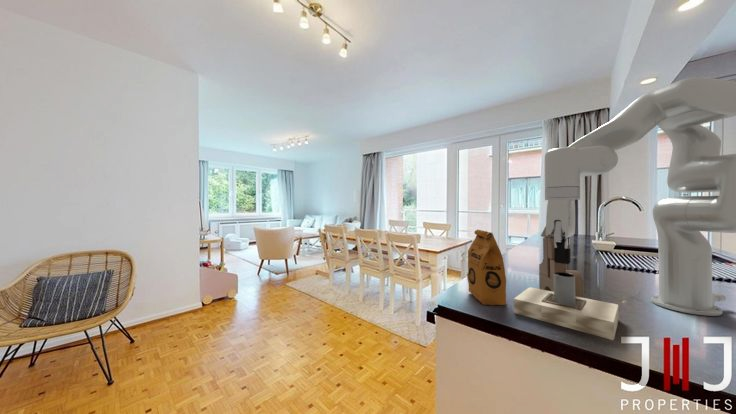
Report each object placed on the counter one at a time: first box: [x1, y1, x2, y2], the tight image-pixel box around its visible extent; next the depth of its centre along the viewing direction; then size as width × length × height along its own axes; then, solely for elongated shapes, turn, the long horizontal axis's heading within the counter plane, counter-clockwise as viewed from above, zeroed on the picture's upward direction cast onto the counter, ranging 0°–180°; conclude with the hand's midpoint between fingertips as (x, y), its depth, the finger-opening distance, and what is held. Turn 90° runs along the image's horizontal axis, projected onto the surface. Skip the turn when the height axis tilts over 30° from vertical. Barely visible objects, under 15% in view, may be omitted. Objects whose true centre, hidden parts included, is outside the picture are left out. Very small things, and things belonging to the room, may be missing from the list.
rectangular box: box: [513, 286, 620, 341], centre depth 67 cm, size 20×14×4 cm
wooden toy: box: [538, 225, 584, 298], centre depth 82 cm, size 16×7×25 cm, turn 167°
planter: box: [554, 272, 576, 307], centre depth 68 cm, size 4×4×10 cm
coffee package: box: [466, 229, 507, 306], centre depth 81 cm, size 10×12×22 cm
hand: (562, 262), depth 67 cm, fingers closed
